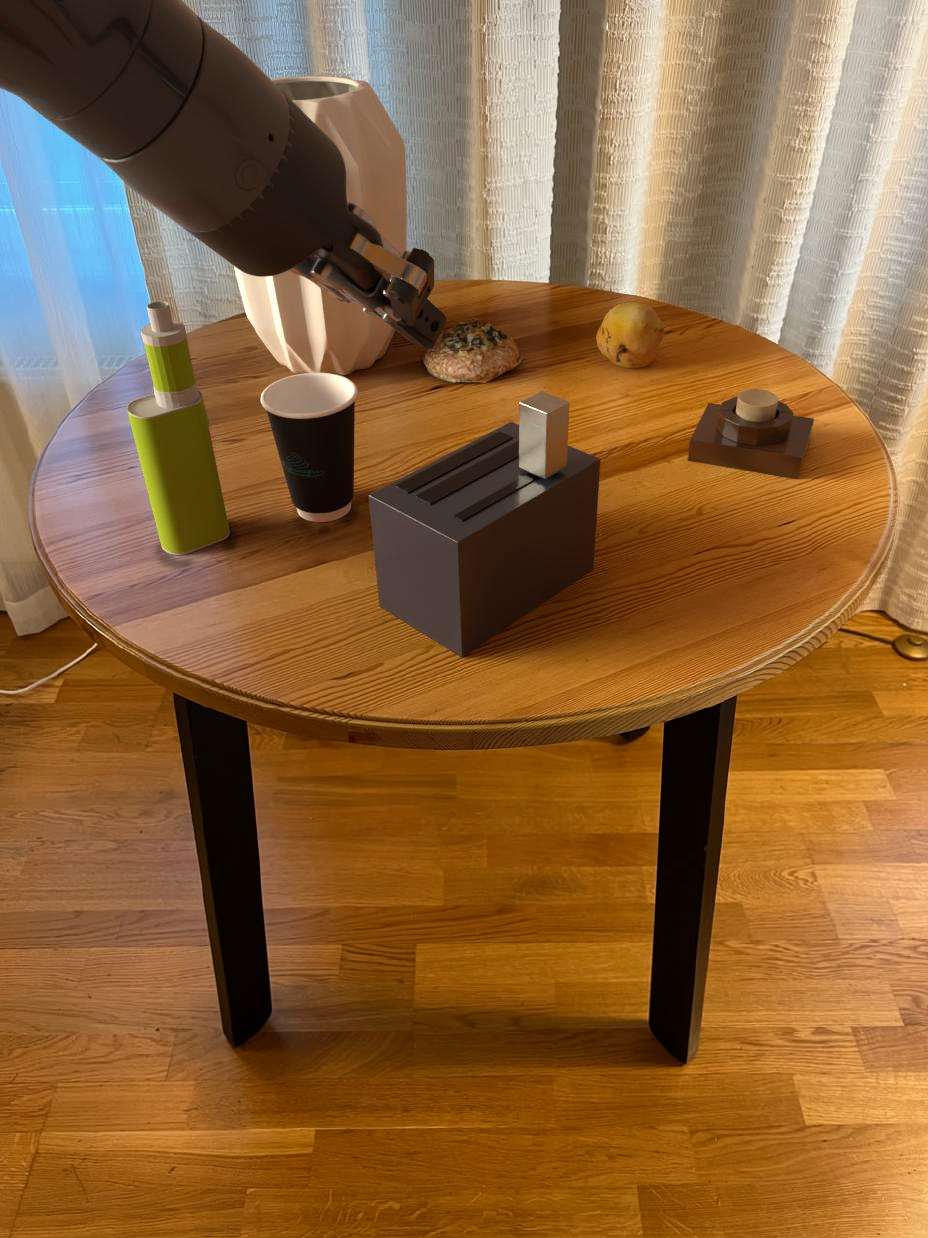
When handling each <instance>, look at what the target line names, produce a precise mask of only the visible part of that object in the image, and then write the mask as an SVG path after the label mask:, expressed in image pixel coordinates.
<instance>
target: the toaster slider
mask: <svg viewBox="0 0 928 1238" xmlns="http://www.w3.org/2000/svg"><path fill="white" fill-rule="evenodd" d="M569 421H570V401H568V400H567V399H563V398H560V397H558V396H555V395H553V394H550V393H548V392H545V391H542V390H541V391H539V392H537V393H535V394H533V395H530V396H529V397H527V398H525V399H523V400H521V401H519V403H518V425H519V468H521V469H524V470H526V471H528V472H530V473H532V474H535V475H537V476H539V477H541V478H543V479H547V478H549V477H551V476H552V475H554V474H556V473H557V472H559V471H561V470H563V469H564V468H566V467H567V452H568V446H569V427H570V424H569V423H570V422H569Z"/></svg>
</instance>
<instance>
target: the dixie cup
mask: <svg viewBox="0 0 928 1238" xmlns="http://www.w3.org/2000/svg"><path fill="white" fill-rule="evenodd" d="M358 394H359V389H358V387H357V385H356V384H355V383H354V381H352V380H350V379H349V378H348V377H345V376H344V375H336V374H330V373H304V374H297V373H296V374H294V375H288V376H286V377H283V378H280V379H278V380H275V381H274V382H272V383H270V384H269V385H268V386H267V387H266V388H264V389H263V391H262V393H261V394H260V403H261V406H262V407H263V408H264V409H265V412H266V414H267V418H268V421H269V425H270V429H271V433H272V435H273V438H274V443H275V446H276V450H277V453H278V456H279V460H280V464H281V467H282V471H283V474H284V478H285V481H286V486H287V489H288V492H289V494H290V499H291V502H292V504H293V506H294V507H295V508H296V512H297V514H298V515H299V517H301V518H302V519H304V520H306V521H308V522H309V521H310V522H313V523H327V522H332V521H335V520H339V519H340V518H343V517H344V516H346V515H347V514H348V513H350V511H351V508H352V501H353V500H354V495H355V427H356V426H355V425H356V424H355V417H356V415H355V413H356V412H355V411H356V409H355V408H356V400H357V398H358Z"/></svg>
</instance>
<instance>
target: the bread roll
mask: <svg viewBox="0 0 928 1238" xmlns="http://www.w3.org/2000/svg"><path fill="white" fill-rule="evenodd" d="M422 357H423V358H422V360H423V364H424V366H425V367H426V370H427V372H428V374H430V375H431V376H433V377H435V378H436V379H439V380H443V381H446V382H449V383H455V384H456V383H483V384H486V383H488V382H491V381H492V380H494V379H495V380H496V378H498V377H500V376H502V375H503V374H504V373H506V372H508V371H511V370H515V368H517V366H519V365H520V364H521V361H522V360H523V356H522V355H521V354H520V351H519V347H518V346H517V344H516V342H515V341H514V340H513V339H512V338H511V337H510V335H509V336H508V334H507V333H505V332H504V331H503V330H502V329H500V328H495V327H494V326H493V325H492V323H490V322H488V321H486V322H485V323H483V324H482V323H481V320H480V319H478V318H474V319H473V320H471V321H469V322H468V321H467V322H465V321H464V322H463V321H460V322H458V323H457V324H456V325H453V326H452V327H449V328H448V329H446V330H442V332H441V333H440V335H439V337H438V339H437V341H436V343H435V345H434V346H433V347H432V348H430V349H427V348H425V349H424V350H423V355H422Z"/></svg>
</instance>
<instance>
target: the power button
mask: <svg viewBox="0 0 928 1238" xmlns="http://www.w3.org/2000/svg"><path fill="white" fill-rule="evenodd" d="M737 397H738V399H737V405H736V412H735V414H736V416H738V417H740V418H742V419H744V420H747V421H754V422H765V421H771V420H774V419H775V417H776V411H777V406H778V401H779V397H778V396H777V394H775V393H774V392H772V391H769V390H767V389H760V388H751V389H750V388H749V389H745V390H742V391H740V392H739V393H738V394H737Z"/></svg>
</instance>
